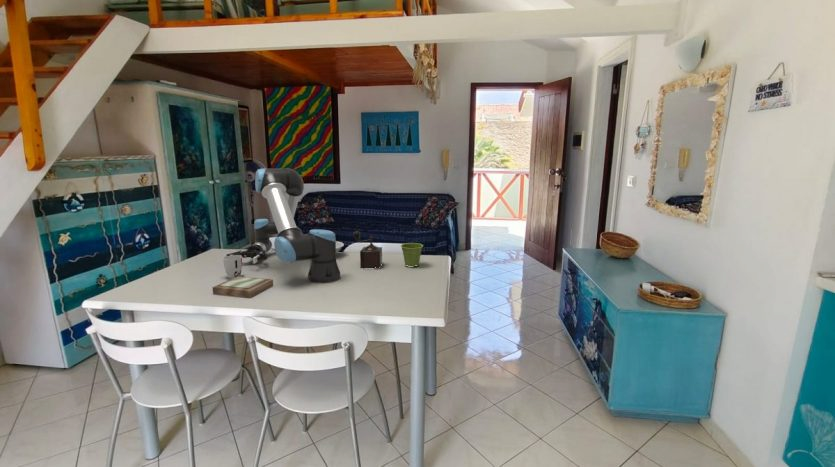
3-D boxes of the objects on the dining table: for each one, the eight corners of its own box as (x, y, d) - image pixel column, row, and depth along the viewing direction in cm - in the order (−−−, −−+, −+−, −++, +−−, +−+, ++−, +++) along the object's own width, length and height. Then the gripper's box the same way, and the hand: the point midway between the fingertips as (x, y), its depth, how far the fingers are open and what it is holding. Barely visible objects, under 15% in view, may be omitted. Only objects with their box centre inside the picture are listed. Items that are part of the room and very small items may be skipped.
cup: (236, 280, 184) (234, 259, 182) (221, 279, 185) (219, 258, 183) (247, 275, 192) (245, 255, 190) (232, 274, 193) (230, 254, 191)
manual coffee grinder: (383, 263, 214) (382, 230, 211) (379, 269, 203) (379, 235, 200) (354, 262, 215) (354, 230, 212) (350, 268, 204) (349, 234, 201)
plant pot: (398, 263, 214) (398, 243, 212) (419, 262, 217) (419, 242, 215) (403, 269, 203) (403, 248, 200) (425, 268, 206) (425, 247, 203)
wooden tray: (273, 285, 177) (272, 278, 176) (250, 298, 162) (249, 290, 161) (238, 282, 181) (237, 275, 180) (213, 294, 166) (212, 286, 165)
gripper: (279, 257, 217) (265, 268, 196) (234, 257, 217) (215, 268, 196) (278, 243, 216) (264, 253, 195) (232, 243, 215) (213, 253, 194)
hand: (240, 260), depth 195 cm, fingers open, 13 cm apart
